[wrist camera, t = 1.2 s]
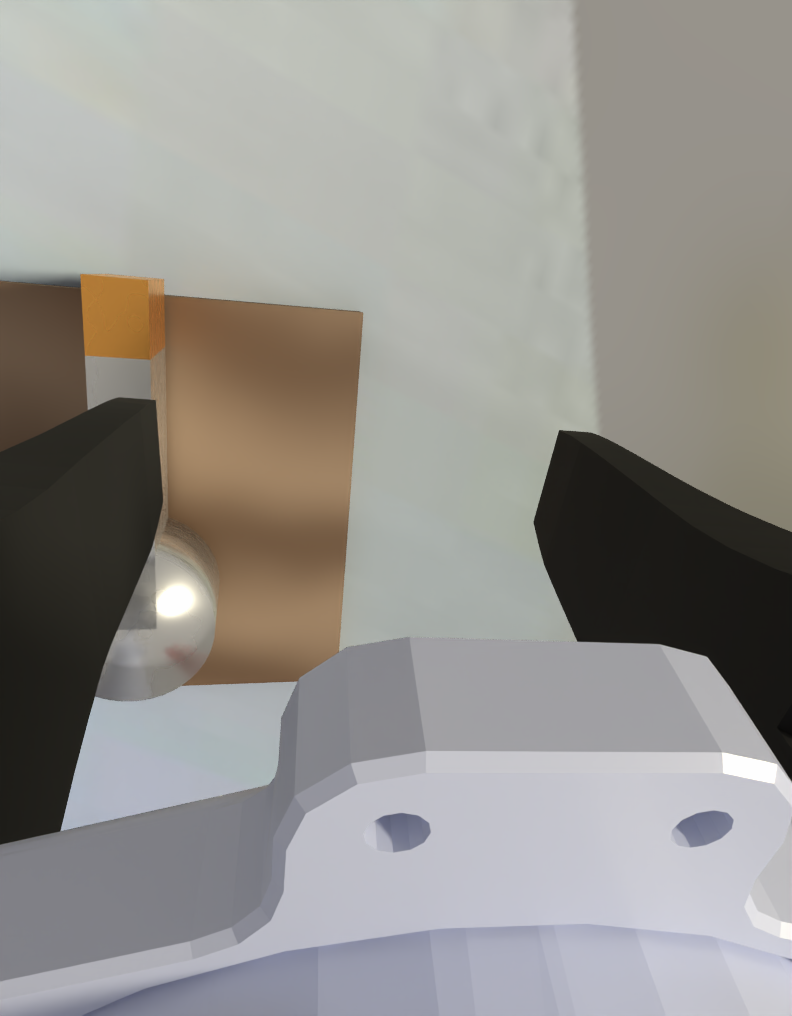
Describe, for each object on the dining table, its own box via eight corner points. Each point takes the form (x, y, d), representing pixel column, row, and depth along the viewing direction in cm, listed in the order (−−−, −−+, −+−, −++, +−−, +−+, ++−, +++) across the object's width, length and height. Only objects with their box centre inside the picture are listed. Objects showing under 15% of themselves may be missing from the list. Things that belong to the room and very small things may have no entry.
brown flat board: (334, 668, 27) (337, 682, 26) (-182, 686, 23) (-200, 703, 22) (359, 311, 23) (364, 313, 22) (-271, 257, 19) (-299, 256, 18)
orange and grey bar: (219, 643, 24) (214, 697, 21) (71, 646, 23) (43, 704, 20) (222, 284, 21) (217, 286, 17) (44, 268, 19) (5, 267, 16)
